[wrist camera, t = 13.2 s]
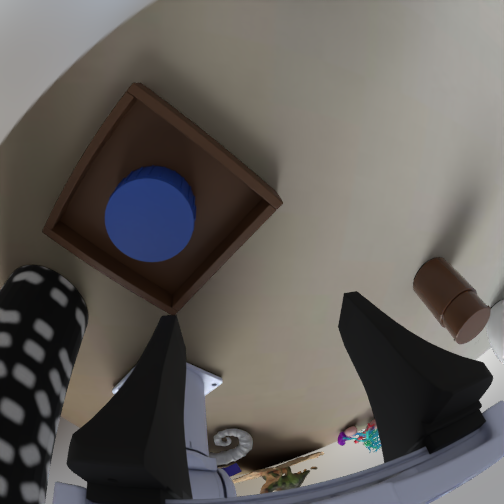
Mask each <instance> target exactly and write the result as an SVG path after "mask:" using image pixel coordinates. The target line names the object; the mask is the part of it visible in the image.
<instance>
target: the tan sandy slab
mask: <svg viewBox="0 0 504 504" xmlns="http://www.w3.org/2000/svg"><path fill="white" fill-rule="evenodd" d="M323 454H324V453H323V452H317V453H314V454H311V455H308V456H305V457H300V458H297V459H295V460H292V461H289V462H287V463H284V464H282V465H279V466H277V467H275V468H274V467H273V468H266V469H259V470H256V471H253V472H251V473H249V474H246V475H244V476H242V477H239V478H236V479H233V480H232V481H233V483H238V482H243V481H246V480H250V479H254V478H257V477H261V476H262V477H263V479H264V480H266V483H265V484H264V485H263V486H262V488H261V492H260V494H263V493H270V492H272V491H274V490H276V491H282V490H288V489H293V488H298V487H300V486H301V484H302V483H303V481H304V479H305V477H306V476H307V475H308V473H309V472H310V471H309V470H307V471H306V469H305V470H304V472H303V473H301V471H300V472H298V473H294V474H293V473H291V469H290V466H292V465H295V464H298V463H300V462H303V461H306V460H309V459H313V458H317V457H318V456H320V455H323ZM311 469H317V467H311ZM284 473H285V475H284V476H282V475H283V474H284Z"/></svg>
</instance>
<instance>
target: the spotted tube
mask: <svg viewBox="0 0 504 504" xmlns="http://www.w3.org/2000/svg"><path fill="white" fill-rule="evenodd" d="M87 324H88V311H87V308H86V305H85V302H84V300H83V298H82V297H81V295H80V294H79V292H78V291H77V290H76V288H75V287H74V286H73V285H72V284H71V283H70V282H69V281H68V280H66V279H65V278H64V277H63V276H61V275H60V274H58V273H56V272H55V271H53V270H51V269H48V268H45V267H42V266H37V265H26V266H22V267H20V268H18V269H16V270H15V271H14V272H13V273H12V274H11V276H10V277H9V278H8V280H7V281H6V283H5V284H4V285H3V287H2V288H1V290H0V504H45V499H46V491H47V483H48V477H49V470H50V464H51V459H52V453H53V448H54V443H55V438H56V433H57V428H58V424H59V420H60V415H61V411H62V407H63V403H64V399H65V396H66V392H67V388H68V384H69V381H70V377H71V374H72V370H73V367H74V364H75V361H76V357H77V354H78V351H79V348H80V345H81V342H82V339H83V336H84V333H85V330H86V327H87Z"/></svg>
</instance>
